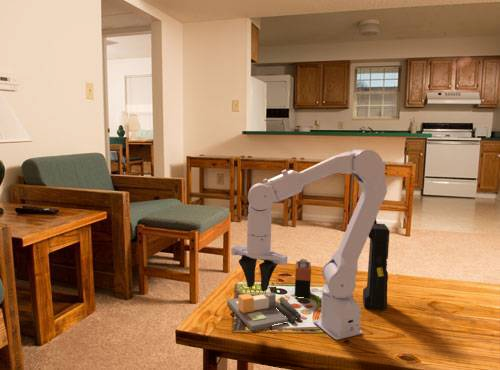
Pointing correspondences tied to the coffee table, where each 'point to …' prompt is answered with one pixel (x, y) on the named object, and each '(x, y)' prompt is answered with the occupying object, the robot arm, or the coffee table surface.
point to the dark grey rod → (285, 312)
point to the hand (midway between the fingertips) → (257, 288)
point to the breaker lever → (256, 302)
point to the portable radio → (377, 268)
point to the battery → (303, 278)
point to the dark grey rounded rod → (290, 308)
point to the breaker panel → (258, 316)
